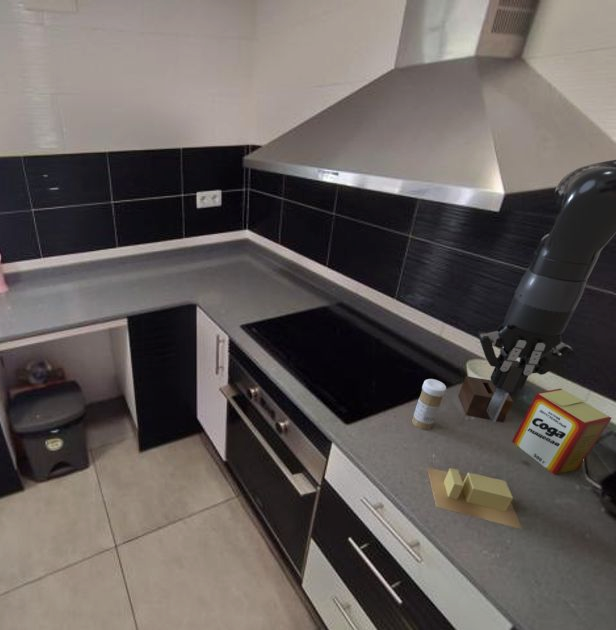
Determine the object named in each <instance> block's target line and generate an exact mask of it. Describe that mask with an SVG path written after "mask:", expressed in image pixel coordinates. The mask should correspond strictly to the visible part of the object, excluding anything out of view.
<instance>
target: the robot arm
mask: <svg viewBox="0 0 616 630" xmlns="http://www.w3.org/2000/svg"><path fill="white" fill-rule="evenodd" d="M554 199H555V203H556V204H557V206H558V207H559V208H560V211H559V214H558V215H557V216H556V220H555V222H554V224H553V226H552V228H551V230H550V232H549V233H547V234H545V235H544V236H542V238H541V239H540V241H539V242H538V244H537V246H536V248H535V250H534V253H533V255H532V257H531V260H530V262H529V265H528V267H527V269H526V271H525V273H524V274H523V275H522V277H521V279H520V281H519V283H518V285H517V287H516V289H515V291H514V295H513V298H512V300H511V302H510V304H509V307H508V310H507V312H506V314H505V317H504V319H503V320H504V321H503V322H502V324H501V325H499V326H498V327H497V328H496V330H494V331H491V332H486V331H483V330H482V331H479V332H478V333H477V337H478V340H479V342H480V346H481V348H482V351H483V354H484V357H485V359H486V361H487V362H488V364H489V366H490V367H492V368H493V367H494V368H493V371H492V372H491V375H490V377H489V378H490V380H491V381H492V383H493V384H494V386H495V388H501V387H502V385H503V383H504V380H505V378H506V376H507V374H508V372H507V371H508V370H509V368H510V366H511V365H512V363H513V362H515V361H517V359H518V358H519V356H520V359H519V360H518V362H519V363H520V364H521V366H522V367H523V371H522V373H521V375H520V378H519V380H518V382H517V384H516V386H515V388H514V390H513V392H518V391H519V390H521V389H523V388H524V386H525V384H526V381H527V380H528V378H529V376H531V375H532V374H538V375H540V376H541V375H545V374H547V373H548V372H550V371H552V370H553V369H555V368H557V367H558V366H559V365H561V364H563V363H564V362H566V361H568V360H569V359H571V358H573V357H574V356H575V355H576V351H575V350H574V349H573V348H572V347H571V346H570V345H569V344H568V343H566V342H563V341H562V334H563V333H564V332H565V329H566V328H567V326H568V324H569V322H570V320H571V318H572V316H573V314H574V313H575V310H576V308H577V307H578V304H579V302H580V300H581V298H582V296H583V294H584V292H585V288H586V285H587V282H588V279H589V277H590V275H591V274H592V271H593V270H594V267H595V265H596V264H597V262H598V259H599V257H600V254H601V252H602V251H603V250H604V248H605V246H607V244H608V243H609V242H610V241H611V240H612V239H613V237H614V236H615V235H616V159H612V160H605V161H600V162H596V163H590V164H587V165H584V166H583V165H582V166H581V167H578V168H575V169H574V170H572V171H570V172H569V173H567V174H566V175H565V176H563V178H561V179H560V181H559V182H558V183H557V186H556V187H555V190H554ZM498 339H499V341H500V343H501V344H502V346H501V347H500V349H499V354H498V356H497V355H496V353H495V349H494V347H495V345H496V344H497V340H498ZM544 353H545V354H544Z"/></svg>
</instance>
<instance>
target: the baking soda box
mask: <svg viewBox="0 0 616 630" xmlns="http://www.w3.org/2000/svg"><path fill="white" fill-rule="evenodd" d="M610 421H612V417H611V416H609V415H608V414H606V413H604V412H602V411H601V410H598V409H597V408H596V407H593V406H592V405H591V404H588V403H587V402H585V401H584V400H583V399H581V398H579V397H578V396H576V395H574V394H572V393H570V392H568V391H566V390H564V389H563V388H561V387H560V388H555V389H551V390H544V391H540V392H536V394H535V395H534V398H533V399H532V401H531V403H530V405H529V407H528V409H527V411H526V413H525V414H524V417H523V419H522V420H521V422H520V424H519V427H518V429H517V430H516V433H515V434H514V437H513V439H512V440H511V442H512V443H513V444H514V445H516V446H517V447H518V448H519V449H520V450H522V451H523V452H525V453H526V454H528V456H530V457H531V458H532V459H534V460H535V461H536V462H538V463H539V464H540V465H541V466H542V467H544V468H545V469H546V470H548V471H549V472H550V473H552V474H553V475H555V476H556V475H559V474H564V473H569V472H572V471H577V470H579V469H580V468H581V467H582V465H583V463H584V462H583V459H585V460H586V459H587V457H588V456H589V454H590V452H591V451H592V449H593V448H594V447H595V445H596V443H597V442H598V440H600V439H599V438H600V437H601V436H602V434H603V433H604V431H605V430H606V428H607V427H608V425H609V423H610Z"/></svg>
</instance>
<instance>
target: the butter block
mask: <svg viewBox="0 0 616 630" xmlns="http://www.w3.org/2000/svg"><path fill="white" fill-rule="evenodd" d="M465 476H466V478H465V480H464V482H463V491H464V495H465V498H466V501H467V502H468V503H472V504H476V505H480V506H484V507H488V508H492V509H495V510H499V511H503V512H506V510H507V508H508V506H509V505H510V503H512V501H513V499H514V496H513V494H512V491H511V490H510V488H509V486H508V483H507V481H506V480H503V479H499V478H493V477H491V476H490V477H489V476H485V475H481V474H478V473H477V474H476V473H472V472H467V473H466V475H465Z"/></svg>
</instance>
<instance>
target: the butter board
mask: <svg viewBox="0 0 616 630" xmlns="http://www.w3.org/2000/svg"><path fill="white" fill-rule="evenodd" d="M426 469H427V473H428V477H429V482H430V486H431V491H432V494H433V499H434V503H435V507H436V508H439V509H443V510H447V511H451V512H455V513H458V514H462V515H466V516H469V517H473V518H477V519H481V520H484V521H485V520H486V521H489V522H492V523H496V524H499V525H504V526H507V527H511V528H515V529H518V530H523V527H522V524H521V522H520V520H519V517H518V515H517V513H516V511H515V507H514V505H513V503H512V502H511V503H510V505H509V506H508V508H507V510H506V512H503V511H499V510H495V509H492V508H488V507H484V506H480V505H476V504H472V503H468V502H467V501H466V498H465V495H464V491H463V488H462V491H461V493H460V495H459V497H458V499H457V500H456V499H452V498H448V495H447V491H446V487H445V484H444V480H445V478H446V475H447V473H448V471H444V470H440V469H438V468H437V469H436V468H432V467H429V466H427V467H426ZM460 476H461V479H462V483H463V482H464V480H465V478H466V476H467V475H462V474H460Z"/></svg>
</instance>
